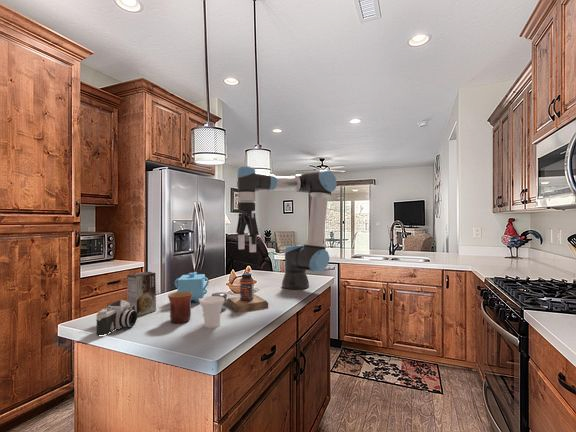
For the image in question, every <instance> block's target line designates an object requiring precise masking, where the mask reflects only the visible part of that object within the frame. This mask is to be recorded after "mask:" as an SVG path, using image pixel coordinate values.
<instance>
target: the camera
mask: <svg viewBox="0 0 576 432" xmlns="http://www.w3.org/2000/svg"><path fill="white" fill-rule="evenodd" d="M137 319H138V316H137V313H136V311H135V310H130V303H129V302H127V300H123V299H119V300H117V301H115V302H111V303H108V304H107V306H106V307H105V308H102V309H100V310H99V311H97V314H96V334H97V335H96V336H99V335H104V334H108V333H109V332H112V331H113V330H115V329H120V328H121V329H123V328H132V327H134V326H135V324H136V323H137ZM122 327H123V328H122ZM121 329H120V330H121ZM112 333H113V332H112Z"/></svg>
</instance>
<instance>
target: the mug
mask: <svg viewBox="0 0 576 432" xmlns="http://www.w3.org/2000/svg"><path fill="white" fill-rule="evenodd" d="M192 294H193V293H192V292H187V291H182V292H177V291H175V292H171V293H169V294H168V295H167V297H168V300H169V303H170V304H169V306H170V307H169V317H170V318H169V319H170V322H171V323H172V324H178V325H180V324H185V323H188V322H189V321H190V320H191V315H192V313H191V311H192V310H191V308H192V306H191V301H192V300H191V298H192Z"/></svg>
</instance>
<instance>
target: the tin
mask: <svg viewBox="0 0 576 432" xmlns="http://www.w3.org/2000/svg"><path fill="white" fill-rule="evenodd" d="M211 296H220V297H223V298H224V302H223V304H222V309H221V312H225V311H227V310H228V305H227V299H228V293H227V292H223V291H222V292H214V293H212V294H211Z"/></svg>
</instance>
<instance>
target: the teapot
mask: <svg viewBox="0 0 576 432" xmlns="http://www.w3.org/2000/svg"><path fill="white" fill-rule="evenodd" d="M209 283H210V280H209V279H208V277H206V275H205V273H200V274H199V273H198V271H194V272H188V274H182V275H181V276H180V277H178V278H176V279H175V281H174V286H175V288H177V290H176V292H182V291H187V292H192V293H193V294H192V298H191V301H194V303H199V304H200V302H199V298H200V299H201V298H204V297H205V295H206V294H207V293H208V289H206V288H207V287H208V286H209Z"/></svg>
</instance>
